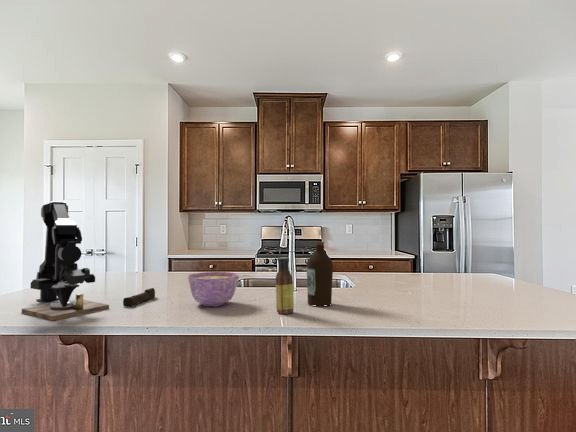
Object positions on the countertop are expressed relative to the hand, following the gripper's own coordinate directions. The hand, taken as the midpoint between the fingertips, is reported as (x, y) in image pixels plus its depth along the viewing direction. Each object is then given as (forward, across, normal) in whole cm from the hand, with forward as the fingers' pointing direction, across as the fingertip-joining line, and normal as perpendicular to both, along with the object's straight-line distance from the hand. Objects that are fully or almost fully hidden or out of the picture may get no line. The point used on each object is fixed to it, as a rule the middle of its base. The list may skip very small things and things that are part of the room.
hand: (64, 306), depth 124 cm
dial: (+2, +5, +6) cm, 8 cm away
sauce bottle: (+4, +44, -61) cm, 75 cm away
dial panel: (+4, +5, +8) cm, 10 cm away
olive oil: (+4, +63, -67) cm, 91 cm away
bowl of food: (+4, +41, -30) cm, 51 cm away
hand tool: (+4, +29, -2) cm, 29 cm away
